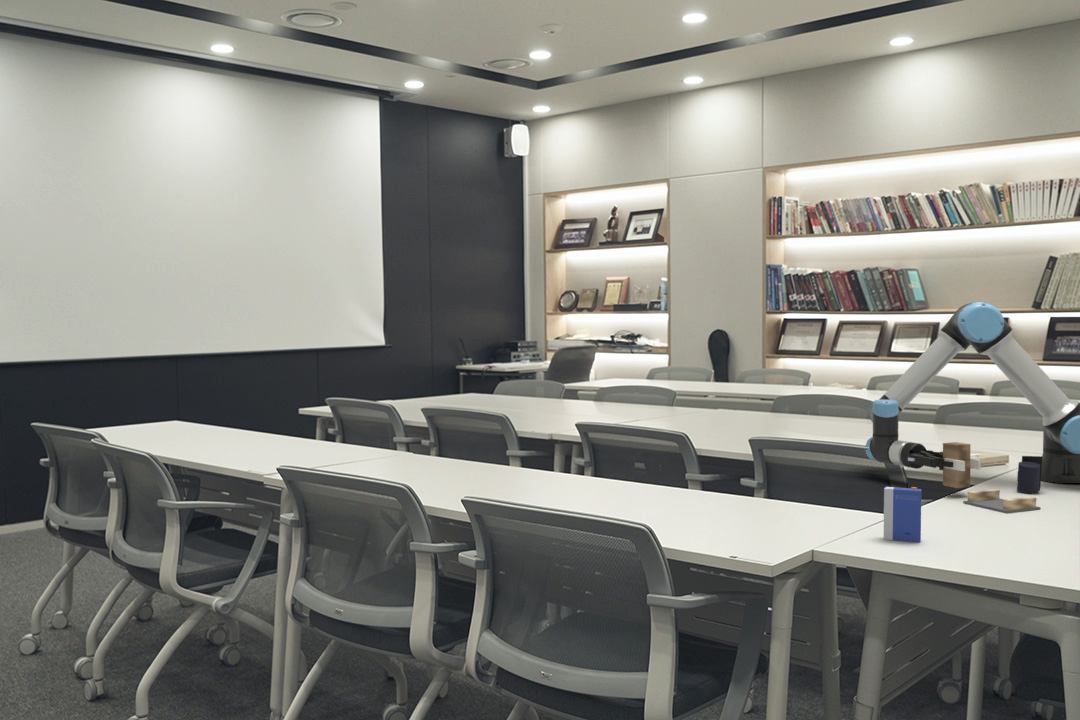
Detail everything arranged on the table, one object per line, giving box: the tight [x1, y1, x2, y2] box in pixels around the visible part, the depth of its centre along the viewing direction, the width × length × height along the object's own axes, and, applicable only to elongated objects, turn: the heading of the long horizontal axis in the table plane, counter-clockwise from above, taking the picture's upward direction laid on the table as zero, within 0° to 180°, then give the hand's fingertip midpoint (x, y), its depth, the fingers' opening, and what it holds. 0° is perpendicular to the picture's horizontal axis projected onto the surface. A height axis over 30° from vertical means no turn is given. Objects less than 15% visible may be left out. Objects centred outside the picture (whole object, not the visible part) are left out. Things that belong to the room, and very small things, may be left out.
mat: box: [962, 497, 1041, 514], centre depth 246 cm, size 12×14×1 cm
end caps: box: [967, 488, 1037, 510], centre depth 246 cm, size 10×13×2 cm
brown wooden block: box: [942, 441, 971, 489], centre depth 259 cm, size 5×5×12 cm
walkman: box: [883, 486, 922, 543], centre depth 210 cm, size 8×3×12 cm, turn 65°
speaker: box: [1016, 455, 1042, 495], centre depth 265 cm, size 8×6×10 cm
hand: (971, 465), depth 254 cm, fingers closed on brown wooden block, 5 cm apart
